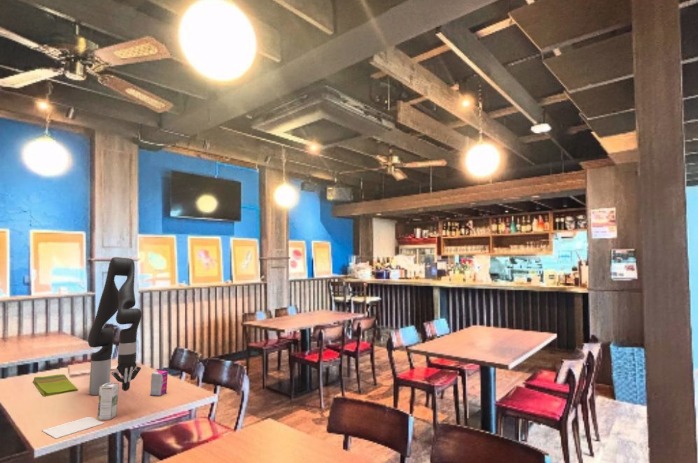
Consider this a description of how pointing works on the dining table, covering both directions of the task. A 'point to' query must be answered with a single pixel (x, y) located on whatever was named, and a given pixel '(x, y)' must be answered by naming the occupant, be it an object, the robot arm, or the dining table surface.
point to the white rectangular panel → (72, 427)
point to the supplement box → (158, 383)
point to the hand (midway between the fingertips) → (125, 390)
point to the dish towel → (53, 385)
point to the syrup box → (108, 401)
